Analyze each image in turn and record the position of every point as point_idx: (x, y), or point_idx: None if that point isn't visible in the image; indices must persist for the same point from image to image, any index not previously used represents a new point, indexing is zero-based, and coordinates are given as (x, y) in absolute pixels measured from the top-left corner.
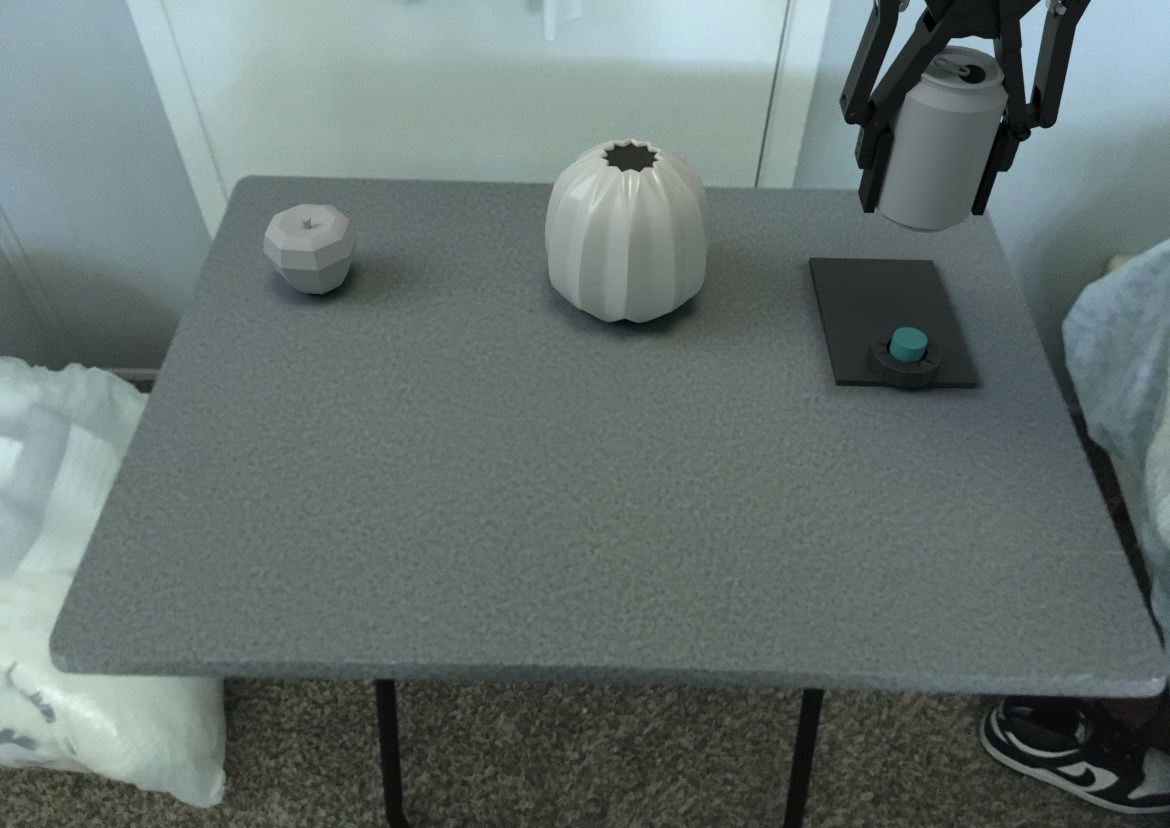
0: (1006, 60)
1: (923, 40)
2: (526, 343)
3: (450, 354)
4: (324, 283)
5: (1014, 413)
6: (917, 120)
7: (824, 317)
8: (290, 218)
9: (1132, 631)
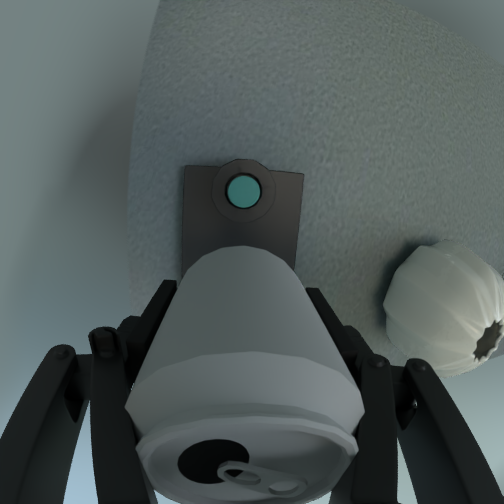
0: (134, 484)
1: None
2: (471, 237)
3: (495, 231)
4: None
5: (164, 137)
6: (338, 357)
7: (295, 252)
8: None
9: None
